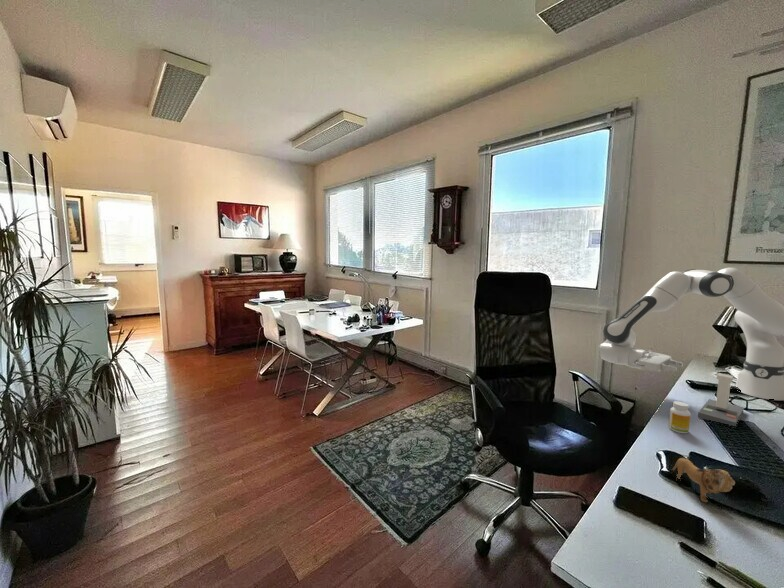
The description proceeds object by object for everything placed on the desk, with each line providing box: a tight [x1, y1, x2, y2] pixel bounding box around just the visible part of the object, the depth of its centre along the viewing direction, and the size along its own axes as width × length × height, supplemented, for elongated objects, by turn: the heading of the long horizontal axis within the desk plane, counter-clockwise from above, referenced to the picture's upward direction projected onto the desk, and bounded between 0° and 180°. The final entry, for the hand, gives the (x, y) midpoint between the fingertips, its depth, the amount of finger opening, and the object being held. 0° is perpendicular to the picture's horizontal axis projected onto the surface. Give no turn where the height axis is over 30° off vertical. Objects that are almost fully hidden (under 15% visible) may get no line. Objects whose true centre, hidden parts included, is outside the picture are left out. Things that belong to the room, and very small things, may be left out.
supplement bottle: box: [668, 400, 691, 434], centre depth 116 cm, size 5×5×10 cm
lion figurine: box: [670, 457, 736, 503], centre depth 86 cm, size 15×5×9 cm, turn 14°
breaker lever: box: [715, 372, 734, 411], centre depth 127 cm, size 4×4×13 cm
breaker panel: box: [697, 398, 745, 427], centre depth 128 cm, size 20×10×2 cm, turn 127°
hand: (679, 367), depth 137 cm, fingers open, 8 cm apart
